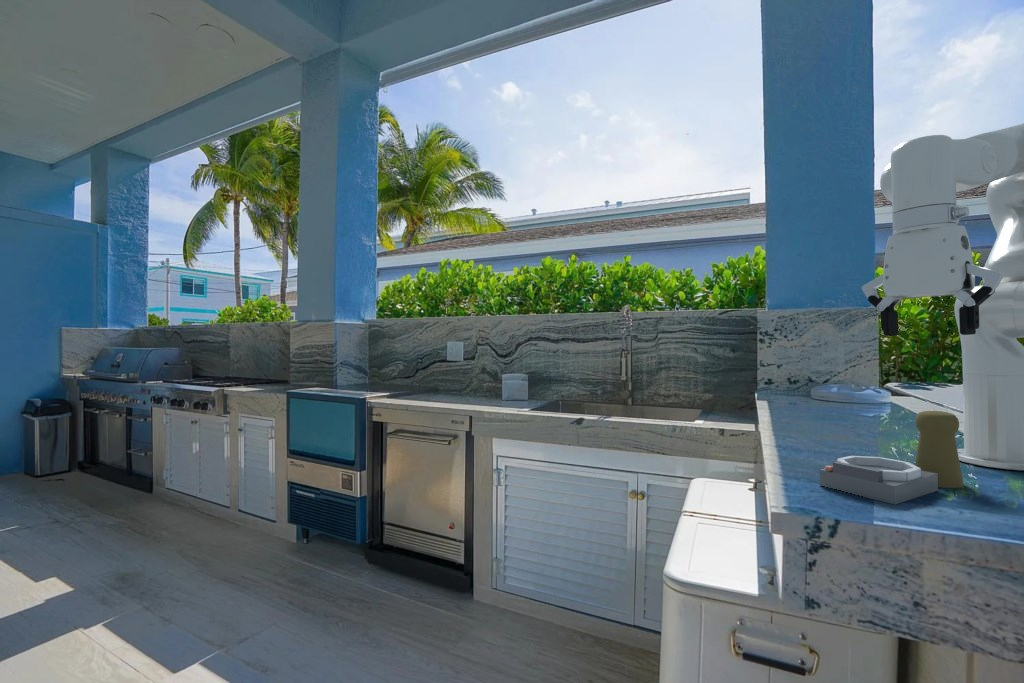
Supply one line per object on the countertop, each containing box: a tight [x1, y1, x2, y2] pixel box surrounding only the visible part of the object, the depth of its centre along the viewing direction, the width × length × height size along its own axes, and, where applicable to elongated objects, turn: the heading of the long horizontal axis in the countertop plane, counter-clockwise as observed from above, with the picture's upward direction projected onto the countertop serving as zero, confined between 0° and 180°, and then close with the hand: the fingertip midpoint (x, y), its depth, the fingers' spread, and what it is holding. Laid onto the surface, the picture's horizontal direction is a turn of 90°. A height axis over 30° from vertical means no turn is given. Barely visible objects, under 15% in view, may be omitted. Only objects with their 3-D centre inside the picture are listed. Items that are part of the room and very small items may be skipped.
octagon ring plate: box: [819, 455, 939, 505], centre depth 74 cm, size 12×10×4 cm
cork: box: [914, 410, 965, 489], centre depth 76 cm, size 6×6×11 cm
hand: (927, 335), depth 75 cm, fingers open, 9 cm apart
